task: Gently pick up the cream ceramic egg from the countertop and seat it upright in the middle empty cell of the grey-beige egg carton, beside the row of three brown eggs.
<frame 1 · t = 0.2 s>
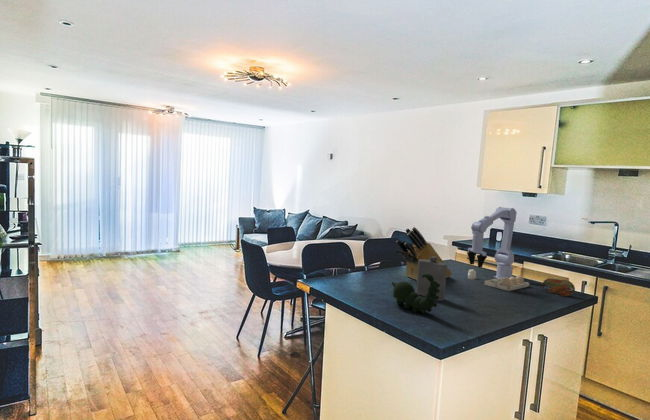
hand: (475, 265, 226), 10 cm above the table, tool pointing down, fingers open, 7 cm apart
knife block: (422, 278, 231), on the table
flask: (430, 297, 193), on the table
toy figurine: (411, 309, 172), on the table
cream egg: (471, 278, 235), on the table
brown egg left: (518, 285, 222), point 1 cm above the table, touching egg carton
tin: (557, 294, 210), on the table
brown egg right: (505, 288, 214), point 1 cm above the table, touching egg carton
egg carton: (506, 286, 221), on the table
brown egg middle: (512, 286, 218), point 1 cm above the table, touching egg carton
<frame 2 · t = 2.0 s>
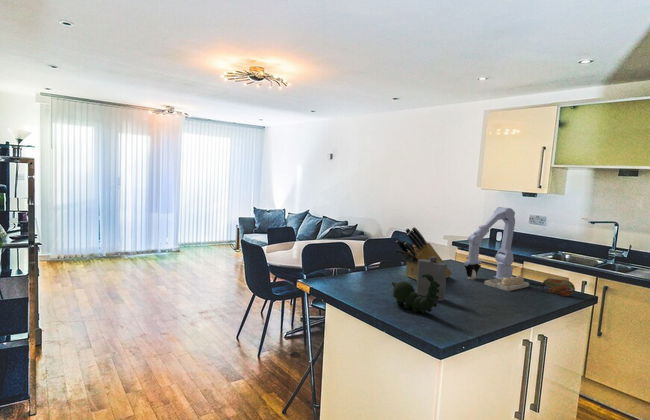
hand: (471, 276, 235), 1 cm above the table, tool pointing down, fingers closed on cream egg, 4 cm apart
cream egg: (471, 278, 235), on the table, touching gripper
everything else where it was.
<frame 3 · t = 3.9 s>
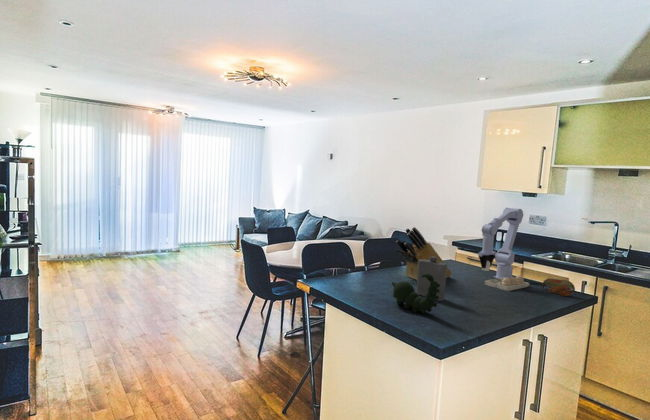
hand: (485, 267, 229), 8 cm above the table, tool pointing down, fingers closed on cream egg, 4 cm apart
cream egg: (485, 269, 229), point 7 cm above the table, touching gripper
everything else where it was.
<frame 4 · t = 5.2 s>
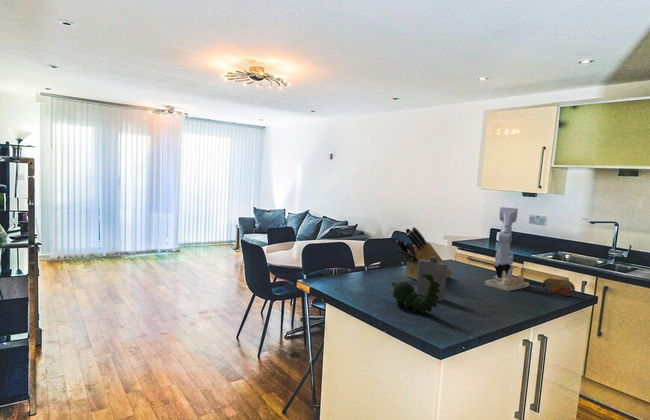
hand: (501, 277, 223), 4 cm above the table, tool pointing down, fingers closed on cream egg, 4 cm apart
cream egg: (501, 279, 223), point 3 cm above the table, touching gripper
everything else where it was.
when the fingers open (4 cm above the table, at t = 6.2 s): cream egg drops 1 cm, resting on egg carton.
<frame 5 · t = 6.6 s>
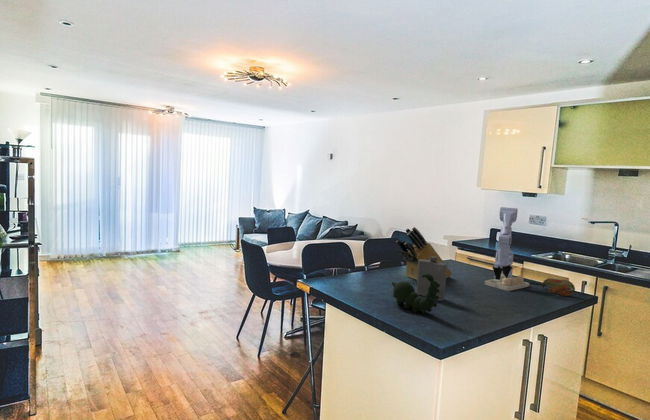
hand: (501, 278, 223), 4 cm above the table, tool pointing down, fingers open, 7 cm apart
cream egg: (501, 283, 224), point 1 cm above the table, touching egg carton
everything else where it was.
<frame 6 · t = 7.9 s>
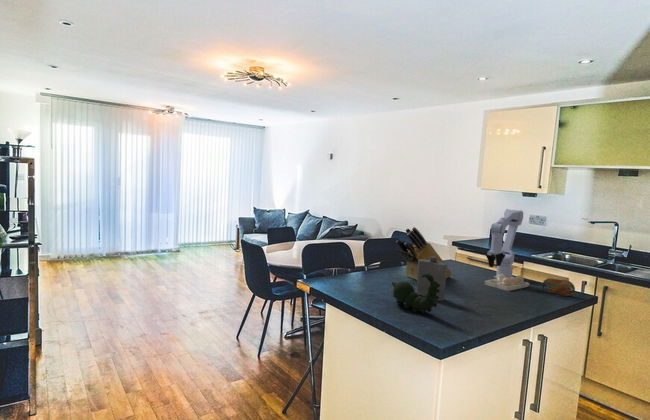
hand: (494, 266, 229), 9 cm above the table, tool pointing down, fingers open, 7 cm apart
nothing on the table moved.
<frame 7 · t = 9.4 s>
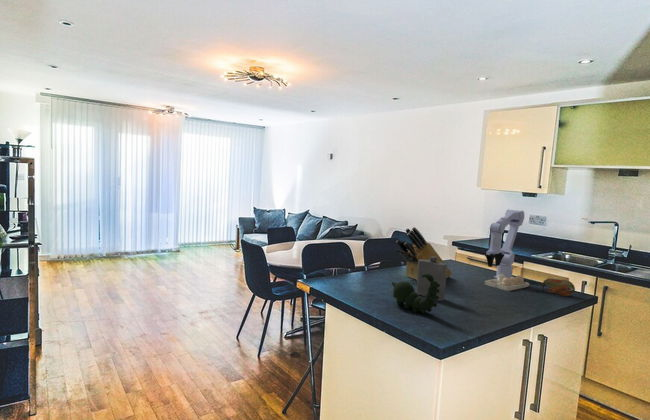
hand: (493, 266, 229), 9 cm above the table, tool pointing down, fingers open, 7 cm apart
nothing on the table moved.
at the end: cream egg 0.0 cm from the target spot on the egg carton, point 0.6 cm above the egg carton's base; cream egg tilted 0°; the gripper is holding nothing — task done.
